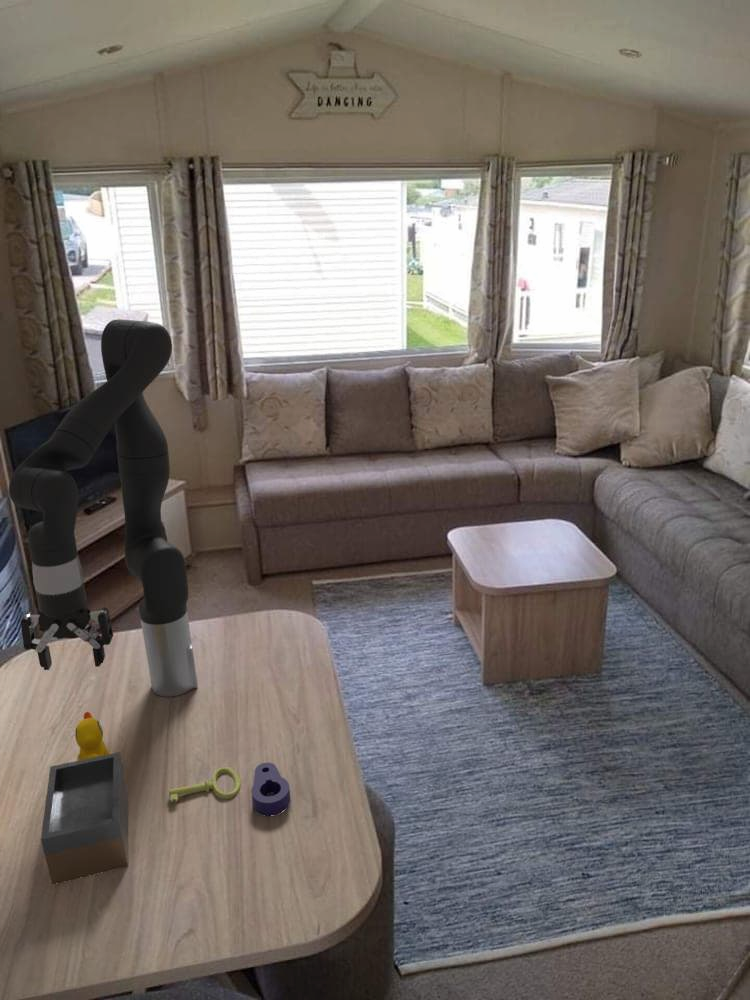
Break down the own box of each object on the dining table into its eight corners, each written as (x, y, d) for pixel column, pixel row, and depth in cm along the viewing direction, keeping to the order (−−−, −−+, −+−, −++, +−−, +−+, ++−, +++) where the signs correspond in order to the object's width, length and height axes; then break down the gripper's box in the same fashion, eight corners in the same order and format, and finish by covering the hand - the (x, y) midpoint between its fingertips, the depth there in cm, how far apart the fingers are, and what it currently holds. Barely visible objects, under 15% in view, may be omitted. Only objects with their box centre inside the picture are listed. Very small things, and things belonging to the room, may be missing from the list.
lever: (293, 812, 128) (292, 798, 127) (255, 821, 127) (253, 806, 125) (282, 764, 139) (280, 750, 138) (247, 772, 137) (245, 758, 136)
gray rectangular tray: (128, 793, 133) (119, 751, 129) (128, 866, 118) (119, 821, 115) (60, 809, 130) (50, 766, 126) (52, 885, 116) (40, 839, 112)
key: (166, 799, 132) (164, 790, 131) (230, 768, 139) (229, 758, 138) (183, 825, 126) (182, 815, 126) (249, 790, 133) (248, 781, 132)
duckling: (79, 753, 143) (69, 709, 139) (109, 745, 144) (100, 702, 141) (81, 795, 133) (71, 748, 129) (113, 786, 135) (104, 740, 131)
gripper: (108, 570, 132) (119, 651, 137) (22, 574, 130) (37, 656, 136) (98, 590, 125) (111, 675, 130) (7, 595, 123) (24, 681, 129)
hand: (73, 665), depth 133 cm, fingers open, 8 cm apart
